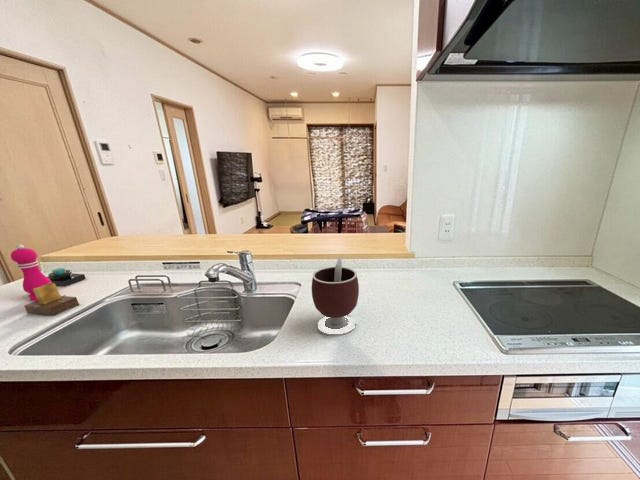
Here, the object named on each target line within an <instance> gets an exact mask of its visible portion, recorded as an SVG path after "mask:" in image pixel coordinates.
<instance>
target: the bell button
mask: <svg viewBox="0 0 640 480" xmlns="http://www.w3.org/2000/svg"><path fill="white" fill-rule="evenodd" d="M65 270H66V269H65V268H64V267H60V268H55V269H52V270H51V273H52V272H53V274H54V275H58V274H63V273H66V271H65Z"/></svg>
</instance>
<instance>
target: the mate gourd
mask: <svg viewBox="0 0 640 480" xmlns="http://www.w3.org/2000/svg"><path fill="white" fill-rule="evenodd" d="M342 261H343V256H342V255H339V258H338V259H337V262H336V263H335V266H328V267H327V266H326V267H323V268H320V269H317V270H316V271H314V272H313V273H312V279H311V296H312V301H313V305H314V308H315V310H317V311H318V312H319V313H320V314H321V315H322V316H323V317H324V316H326V317H330V318H328V319H326V321H325V326H326V327H328V328H331V329H340V328H343V327H345V326H347V325H348V323H347V322H349V321H348V319H347V318H345V317H344V316H346V315H350V314H351V313H352V312H353V311H354V309H355V308H356V307H357V305H358V302H359V294H360V284H359V279H358V273H357V271H356V270H354V269H352V268H349V267H344V266H343V264H342ZM345 319H346V320H345ZM316 328H317V329H316V330H317V331H318V332H319V333H320V334H323V335H325V336H330V337H341V336H346V335H348V334H350V333H352V332H353V331H354V330H355V329H356V328H357V325H356V326H355V328H354V329H352V330H351V331H349V332H347V333H343V334H327V333H324V332H322V331H320V330H319V329H318V327H317V326H316Z"/></svg>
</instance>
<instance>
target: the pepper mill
mask: <svg viewBox="0 0 640 480" xmlns="http://www.w3.org/2000/svg"><path fill="white" fill-rule="evenodd" d="M15 248H16V249H14V250H13V251H11V253H10V258H11V260H12V261H13V262H15V263H17V264H16V266H17V268H18V269H20V271H21V272H22V273H23V280H22V289H23V291H24V292H25V293H27V294H29V295H28V297H29V299H30V301H33V302H35V301H37V300H38V299H37V297H36V295H35V293H34V291H33V289H34V288H37V287H40V286H43V285H46V284H47V283H52V282H51V280H50V279H49V278H47V277H48V276H46V275H45V274H44V273H43V272H42V271H41V269H40V267H39V265H40V263H39V261H38V260H37V259H38V253H37V252H36V251H35V250H34V249H32V248H27V247H25V246H24V245H23V244H21V243H19V244H17V245H16V246H15Z"/></svg>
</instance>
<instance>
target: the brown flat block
mask: <svg viewBox="0 0 640 480" xmlns="http://www.w3.org/2000/svg"><path fill="white" fill-rule="evenodd" d="M60 296H61V298H60V299H57V300H55V301H52V302H50V303H47V304H45V305H44V304H40V303H39V301H38V300H37V301H33V302H30V303H27V304H24V305H23V307H24V308H25V311H26V313H27V314H28V315H39V316H50V317H54V316H57V315H59V314H62V313H63V312H66V311H68V310H70V309H73V308H75V307H77V306H80V303H79V301H78V297H76V296H68V295H67V294H64V295H60Z"/></svg>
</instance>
